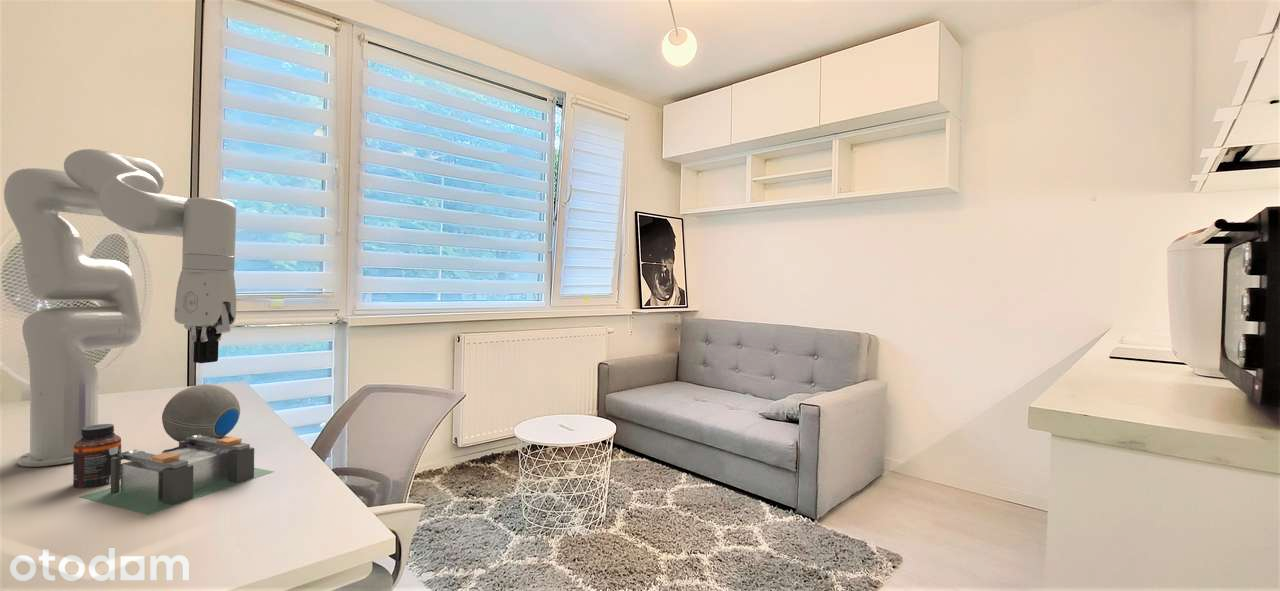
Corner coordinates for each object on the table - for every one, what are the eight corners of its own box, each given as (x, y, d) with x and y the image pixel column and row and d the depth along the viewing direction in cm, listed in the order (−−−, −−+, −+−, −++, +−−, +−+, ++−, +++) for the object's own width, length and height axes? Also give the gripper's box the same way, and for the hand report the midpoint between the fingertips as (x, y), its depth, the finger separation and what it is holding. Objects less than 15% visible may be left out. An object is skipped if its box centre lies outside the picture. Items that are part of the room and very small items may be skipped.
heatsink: (120, 492, 88) (120, 463, 88) (205, 467, 100) (205, 442, 100) (158, 501, 85) (158, 471, 85) (240, 474, 97) (241, 448, 97)
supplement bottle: (127, 485, 94) (128, 424, 93) (81, 497, 88) (82, 432, 88) (112, 479, 96) (112, 420, 96) (66, 491, 91) (67, 428, 91)
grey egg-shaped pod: (200, 442, 119) (201, 378, 119) (254, 444, 118) (255, 380, 118) (145, 461, 106) (145, 390, 106) (204, 464, 106) (205, 392, 105)
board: (78, 503, 86) (79, 461, 86) (211, 465, 105) (211, 430, 105) (147, 521, 80) (148, 476, 80) (274, 477, 99) (274, 440, 99)
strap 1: (117, 459, 89) (117, 450, 89) (134, 455, 91) (134, 446, 91) (172, 471, 84) (172, 461, 84) (189, 466, 86) (189, 456, 86)
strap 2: (184, 443, 98) (184, 434, 98) (198, 439, 100) (198, 431, 100) (237, 452, 93) (237, 443, 93) (250, 449, 96) (250, 440, 96)
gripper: (158, 262, 94) (155, 360, 95) (214, 265, 90) (211, 369, 90) (204, 264, 101) (201, 355, 102) (257, 267, 97) (254, 363, 97)
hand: (205, 361), depth 96 cm, fingers closed
